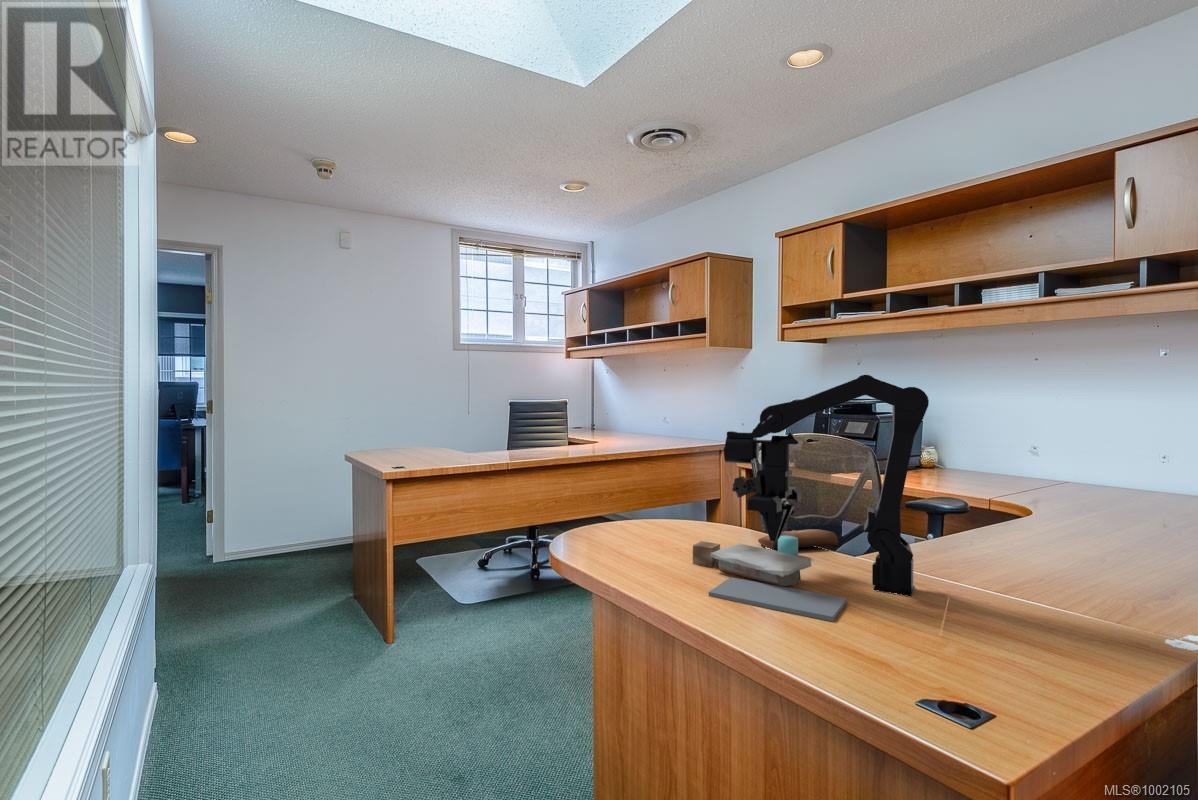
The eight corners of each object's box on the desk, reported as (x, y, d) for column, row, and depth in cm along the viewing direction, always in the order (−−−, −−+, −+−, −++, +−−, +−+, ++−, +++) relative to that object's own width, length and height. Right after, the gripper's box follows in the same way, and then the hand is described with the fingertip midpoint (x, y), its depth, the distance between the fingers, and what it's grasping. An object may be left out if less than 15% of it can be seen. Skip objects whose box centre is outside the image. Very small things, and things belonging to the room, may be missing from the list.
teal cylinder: (800, 556, 138) (800, 537, 138) (795, 560, 134) (795, 540, 134) (780, 553, 141) (780, 534, 141) (775, 557, 137) (775, 538, 137)
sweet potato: (816, 535, 153) (826, 518, 149) (830, 557, 147) (841, 540, 143) (755, 539, 147) (764, 522, 144) (767, 562, 142) (777, 545, 138)
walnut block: (719, 564, 131) (719, 544, 131) (711, 568, 128) (711, 548, 128) (701, 560, 134) (701, 541, 134) (692, 565, 130) (692, 545, 130)
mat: (846, 602, 106) (846, 598, 106) (832, 621, 97) (832, 616, 97) (730, 581, 119) (730, 577, 119) (708, 596, 110) (708, 591, 110)
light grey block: (739, 562, 131) (710, 573, 125) (738, 541, 131) (709, 551, 125) (813, 582, 117) (784, 595, 111) (812, 558, 117) (783, 570, 111)
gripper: (752, 459, 136) (752, 526, 136) (721, 466, 120) (721, 543, 120) (802, 462, 129) (801, 533, 129) (776, 470, 114) (775, 551, 114)
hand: (774, 539), depth 123 cm, fingers closed
